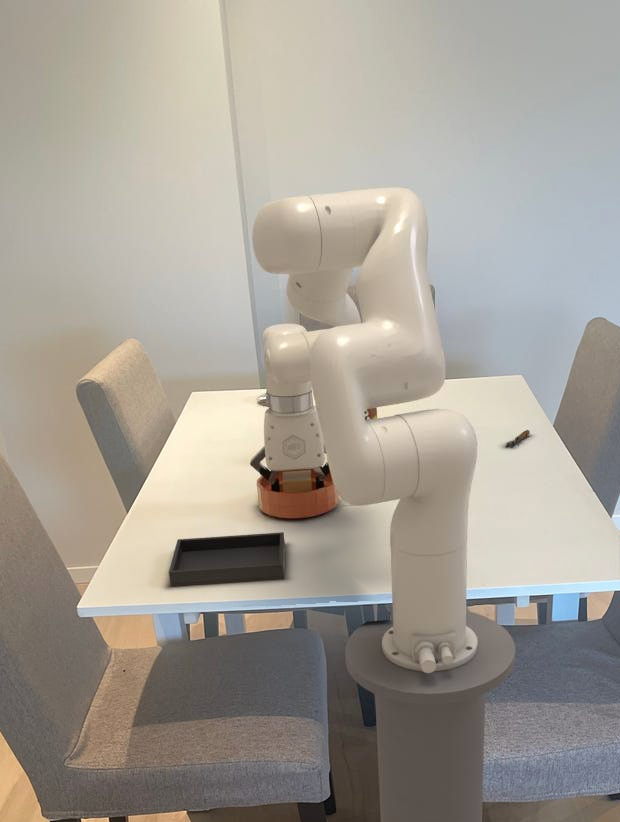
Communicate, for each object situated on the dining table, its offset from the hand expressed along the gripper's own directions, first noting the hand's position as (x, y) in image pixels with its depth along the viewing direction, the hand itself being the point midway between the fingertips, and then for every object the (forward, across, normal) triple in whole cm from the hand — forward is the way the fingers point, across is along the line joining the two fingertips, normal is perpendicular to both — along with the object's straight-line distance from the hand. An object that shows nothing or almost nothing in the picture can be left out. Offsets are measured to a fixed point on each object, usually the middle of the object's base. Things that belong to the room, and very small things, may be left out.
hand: (298, 500), depth 165 cm
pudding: (+1, -4, +69) cm, 69 cm away
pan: (+1, -11, -23) cm, 26 cm away
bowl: (+1, 0, 0) cm, 1 cm away
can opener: (+1, +45, +27) cm, 52 cm away
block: (0, 0, 0) cm, 0 cm away
